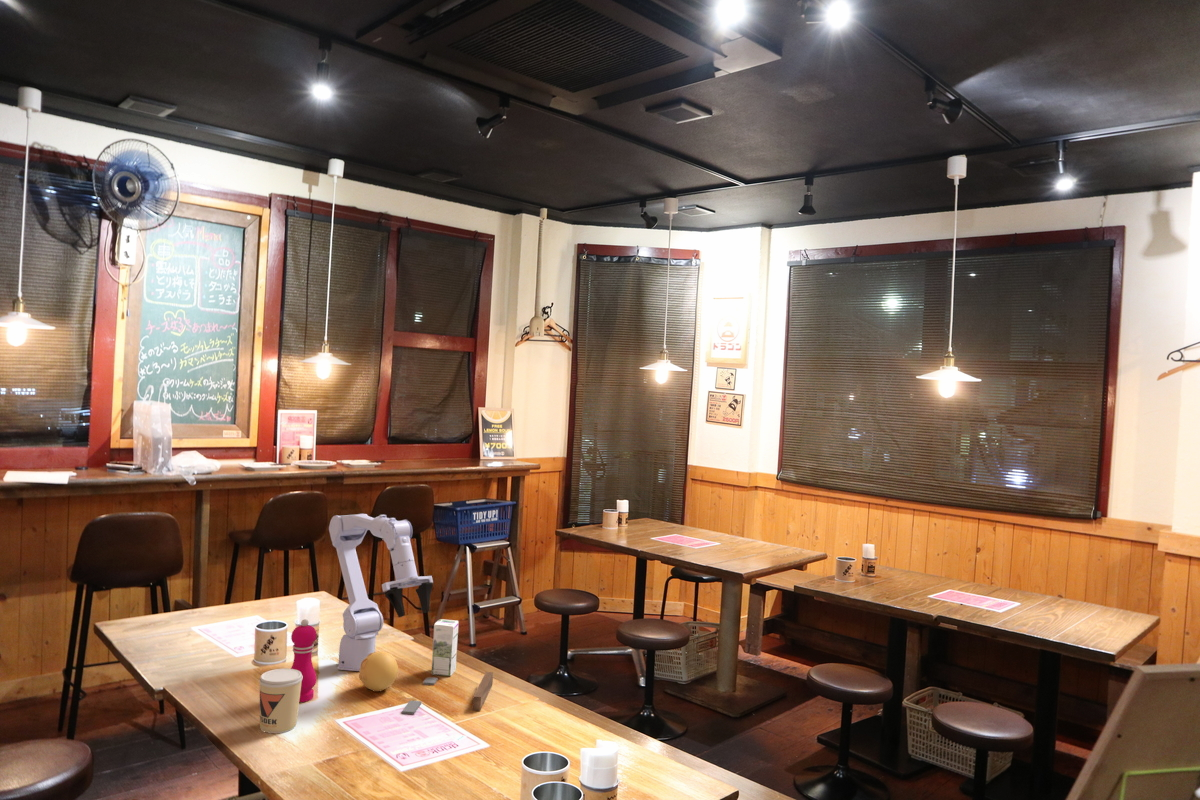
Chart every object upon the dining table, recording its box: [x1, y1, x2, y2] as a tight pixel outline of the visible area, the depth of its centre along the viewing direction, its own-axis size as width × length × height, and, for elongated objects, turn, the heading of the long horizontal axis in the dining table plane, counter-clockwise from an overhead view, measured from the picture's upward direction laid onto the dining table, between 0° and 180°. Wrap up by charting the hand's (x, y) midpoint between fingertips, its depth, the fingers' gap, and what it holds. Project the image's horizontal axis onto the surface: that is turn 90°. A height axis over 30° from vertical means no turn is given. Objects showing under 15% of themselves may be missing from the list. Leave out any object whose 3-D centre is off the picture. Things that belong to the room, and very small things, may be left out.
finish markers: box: [401, 676, 438, 715], centre depth 204 cm, size 3×24×1 cm, turn 178°
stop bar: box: [471, 671, 494, 712], centre depth 205 cm, size 2×18×4 cm, turn 178°
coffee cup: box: [258, 668, 303, 734], centre depth 181 cm, size 9×9×12 cm
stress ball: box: [358, 650, 399, 692], centre depth 206 cm, size 10×10×10 cm
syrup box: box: [431, 618, 460, 677], centre depth 222 cm, size 6×6×14 cm
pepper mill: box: [290, 619, 318, 703], centre depth 198 cm, size 7×7×20 cm
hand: (414, 614), depth 206 cm, fingers open, 7 cm apart
